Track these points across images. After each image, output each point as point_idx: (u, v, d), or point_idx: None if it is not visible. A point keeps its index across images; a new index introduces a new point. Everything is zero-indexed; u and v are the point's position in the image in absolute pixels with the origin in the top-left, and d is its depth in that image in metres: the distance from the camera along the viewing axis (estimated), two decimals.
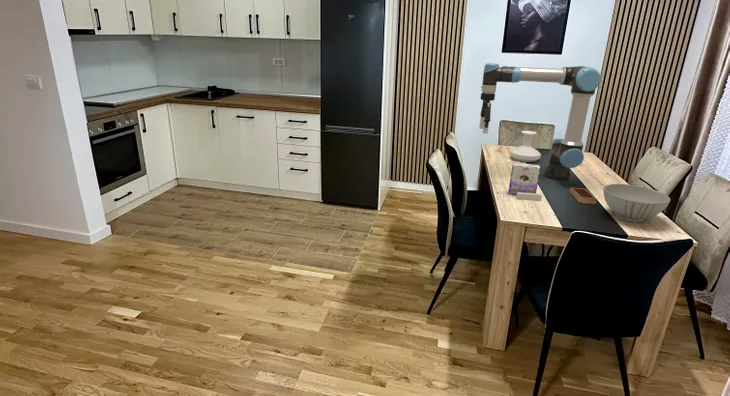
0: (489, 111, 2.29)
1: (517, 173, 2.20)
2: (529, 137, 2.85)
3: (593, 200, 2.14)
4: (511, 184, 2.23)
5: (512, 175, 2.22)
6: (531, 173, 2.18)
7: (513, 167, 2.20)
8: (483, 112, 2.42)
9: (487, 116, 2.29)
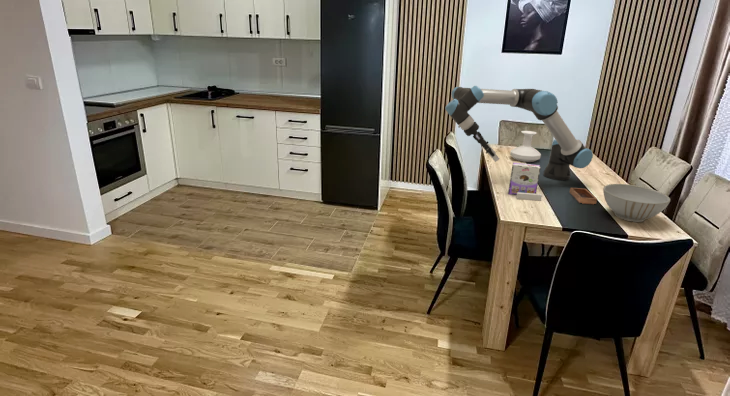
0: (483, 142, 2.11)
1: (517, 173, 2.20)
2: (529, 137, 2.85)
3: (593, 200, 2.14)
4: (511, 184, 2.23)
5: (512, 175, 2.22)
6: (531, 173, 2.18)
7: (513, 167, 2.20)
8: None
9: (485, 147, 2.11)
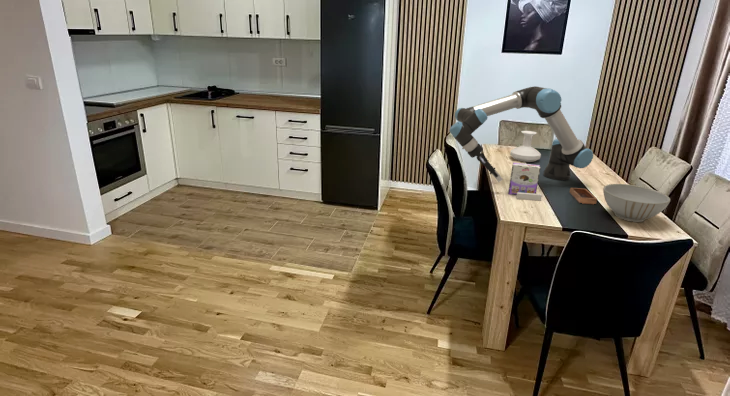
0: (488, 165, 2.18)
1: (517, 173, 2.20)
2: (529, 137, 2.85)
3: (593, 200, 2.14)
4: (511, 184, 2.23)
5: (512, 175, 2.22)
6: (531, 173, 2.18)
7: (513, 167, 2.20)
8: None
9: (490, 170, 2.19)
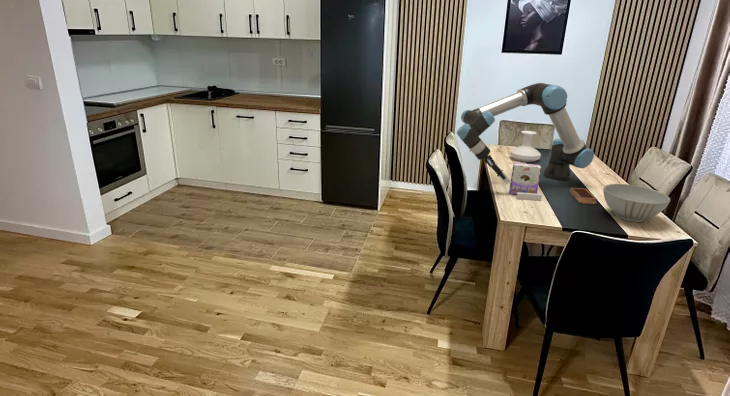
0: (496, 167, 2.17)
1: (518, 173, 2.20)
2: (529, 137, 2.85)
3: (593, 200, 2.14)
4: (512, 184, 2.23)
5: (513, 175, 2.21)
6: (532, 173, 2.18)
7: (514, 167, 2.20)
8: None
9: (497, 172, 2.19)
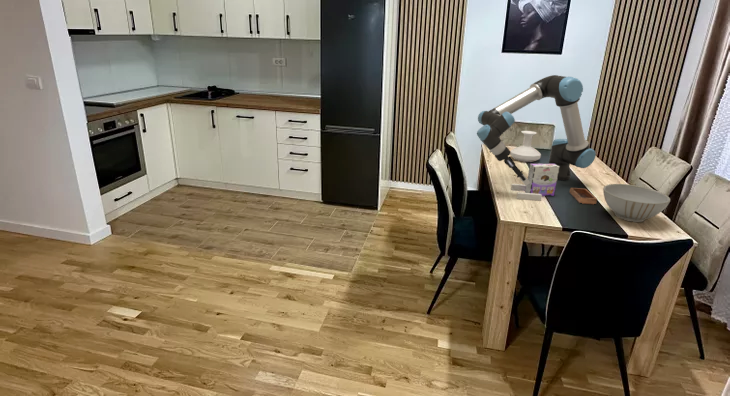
0: (516, 168, 2.16)
1: (539, 174, 2.20)
2: (529, 137, 2.85)
3: (593, 200, 2.14)
4: (532, 185, 2.22)
5: (534, 176, 2.20)
6: (551, 173, 2.20)
7: (535, 168, 2.19)
8: None
9: (518, 173, 2.17)
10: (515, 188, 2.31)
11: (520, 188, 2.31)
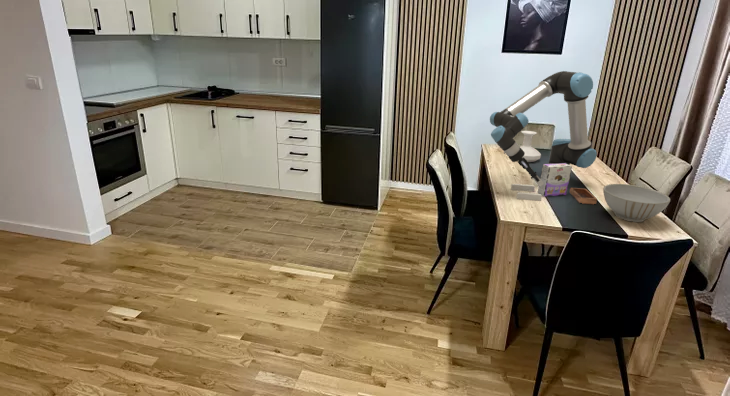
0: (530, 169, 2.16)
1: (553, 174, 2.20)
2: (529, 137, 2.85)
3: (593, 200, 2.14)
4: (547, 186, 2.22)
5: (548, 177, 2.20)
6: (564, 172, 2.21)
7: (549, 169, 2.19)
8: None
9: (532, 174, 2.18)
10: (515, 188, 2.31)
11: (520, 188, 2.31)
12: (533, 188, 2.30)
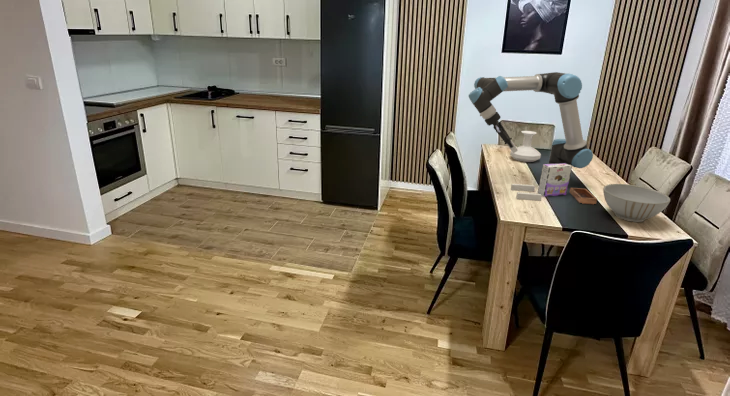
0: (503, 135, 2.16)
1: (553, 174, 2.20)
2: (529, 137, 2.85)
3: (593, 200, 2.14)
4: (547, 186, 2.22)
5: (548, 177, 2.20)
6: (564, 172, 2.21)
7: (549, 169, 2.19)
8: None
9: (505, 139, 2.18)
10: (515, 188, 2.31)
11: (520, 188, 2.31)
12: (533, 188, 2.30)
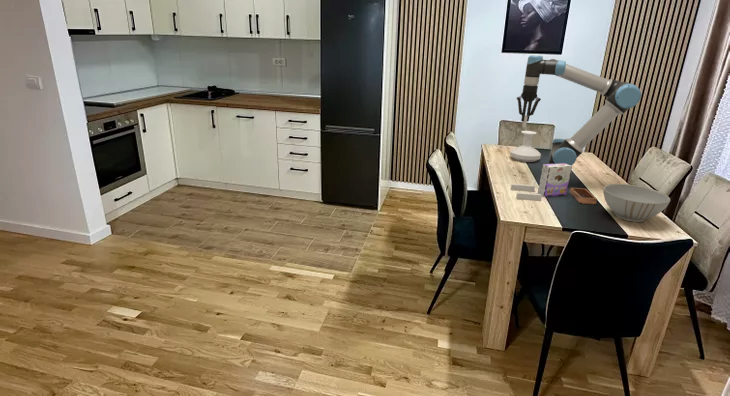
0: (518, 105, 2.38)
1: (553, 174, 2.20)
2: (529, 137, 2.85)
3: (593, 200, 2.14)
4: (547, 186, 2.22)
5: (548, 177, 2.20)
6: (564, 172, 2.21)
7: (549, 169, 2.19)
8: (528, 108, 2.39)
9: (519, 110, 2.40)
10: (515, 188, 2.31)
11: (520, 188, 2.31)
12: (533, 188, 2.30)
